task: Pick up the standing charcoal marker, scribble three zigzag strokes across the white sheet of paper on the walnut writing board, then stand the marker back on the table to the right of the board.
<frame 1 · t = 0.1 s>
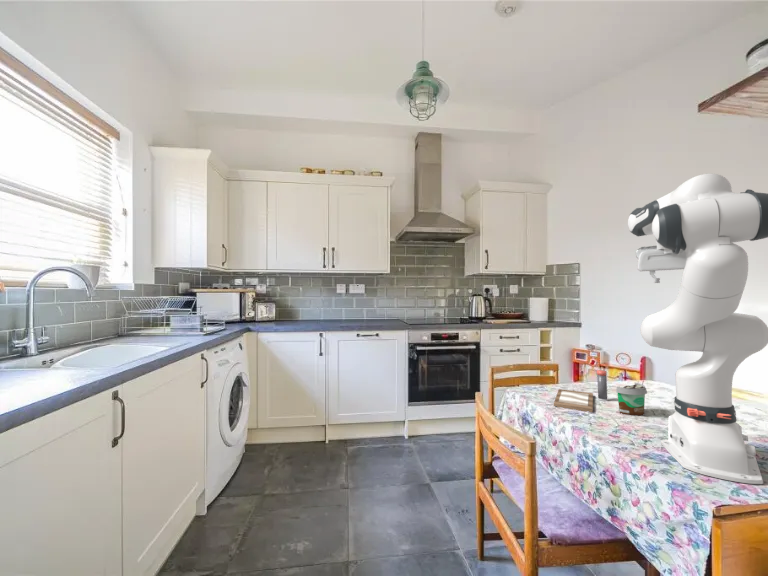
hand: (673, 282, 116), 48 cm above the table, tool pointing down, fingers open, 8 cm apart
food container: (636, 414, 118), on the table
marker: (602, 399, 133), on the table
writing board: (574, 401, 133), on the table
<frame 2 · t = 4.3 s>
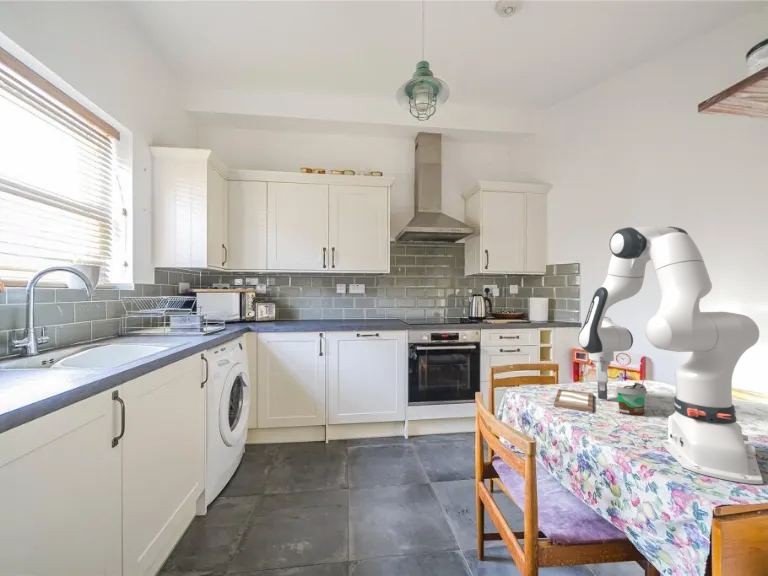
hand: (602, 388, 133), 5 cm above the table, tool pointing down, fingers closed on marker, 3 cm apart
marker: (602, 399, 133), on the table, touching gripper
everything else where it was.
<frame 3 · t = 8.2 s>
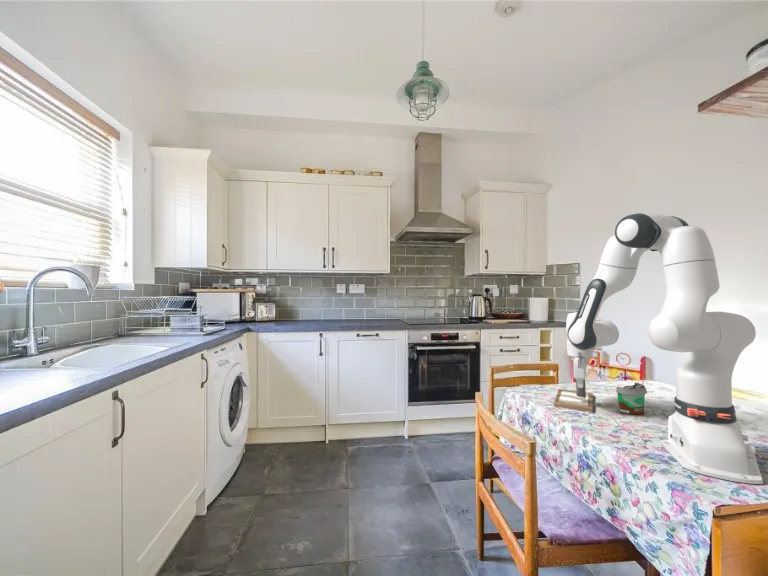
hand: (580, 385, 128), 8 cm above the table, tool pointing down, fingers closed on marker, 3 cm apart
marker: (581, 397, 128), point 3 cm above the table, touching gripper
everything else where it was.
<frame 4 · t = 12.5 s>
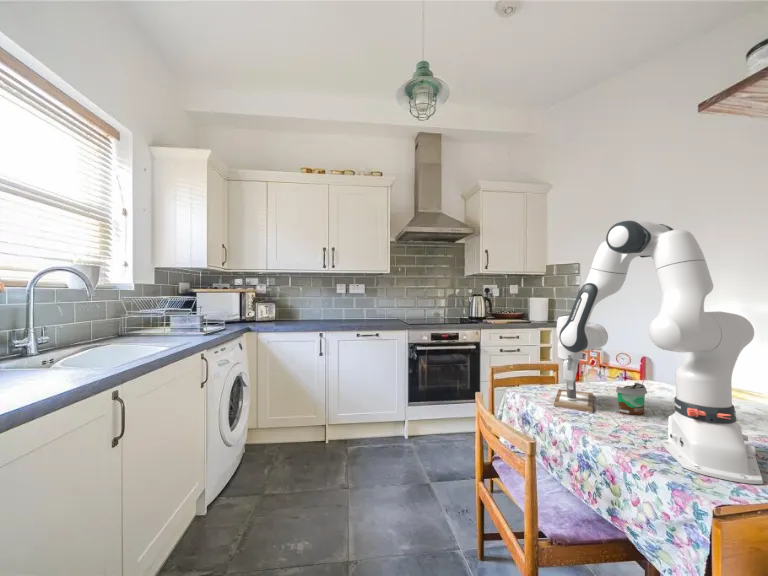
hand: (571, 387, 130), 6 cm above the table, tool pointing down, fingers closed on marker, 3 cm apart
marker: (571, 399, 130), point 2 cm above the table, touching gripper
everything else where it was.
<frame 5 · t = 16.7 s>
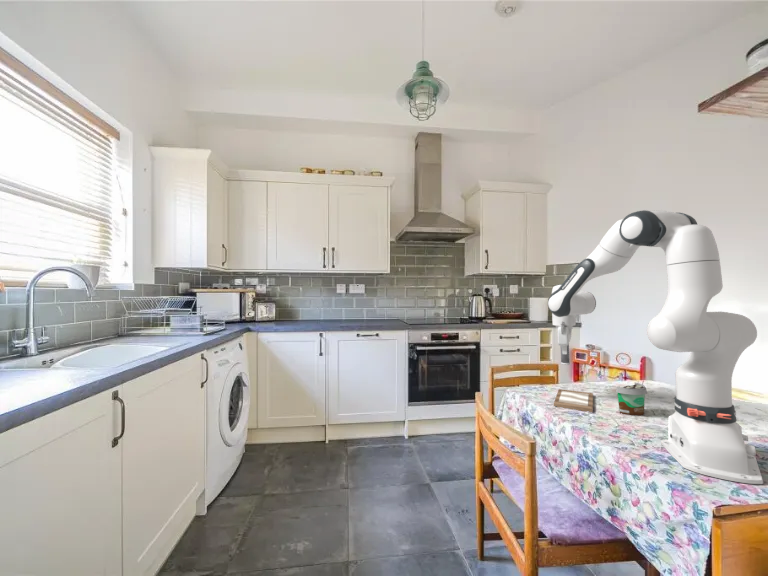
hand: (565, 353, 138), 19 cm above the table, tool pointing down, fingers closed on marker, 3 cm apart
marker: (565, 363, 138), point 14 cm above the table, touching gripper
everything else where it was.
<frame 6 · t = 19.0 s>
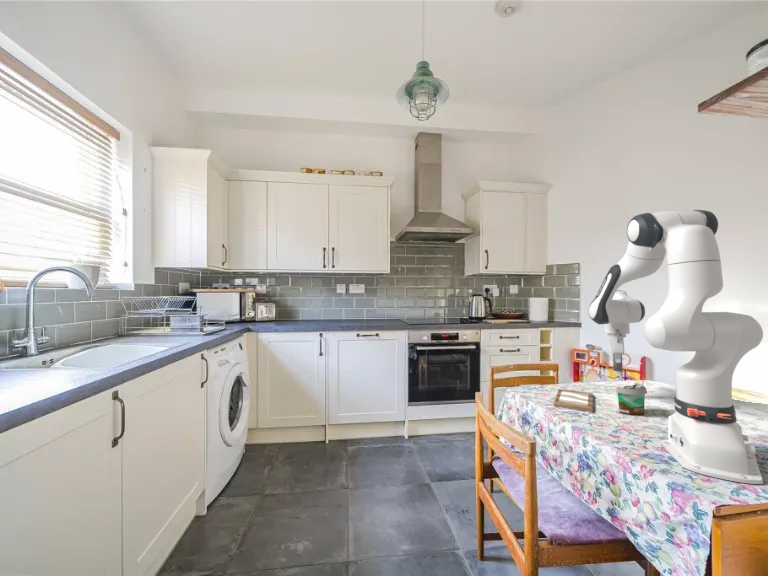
hand: (617, 361, 135), 15 cm above the table, tool pointing down, fingers closed on marker, 3 cm apart
marker: (618, 372, 135), point 11 cm above the table, touching gripper
everything else where it was.
when the fingers open (6 cm above the table, at t = 20.9 s): marker stays where it is, on the table.
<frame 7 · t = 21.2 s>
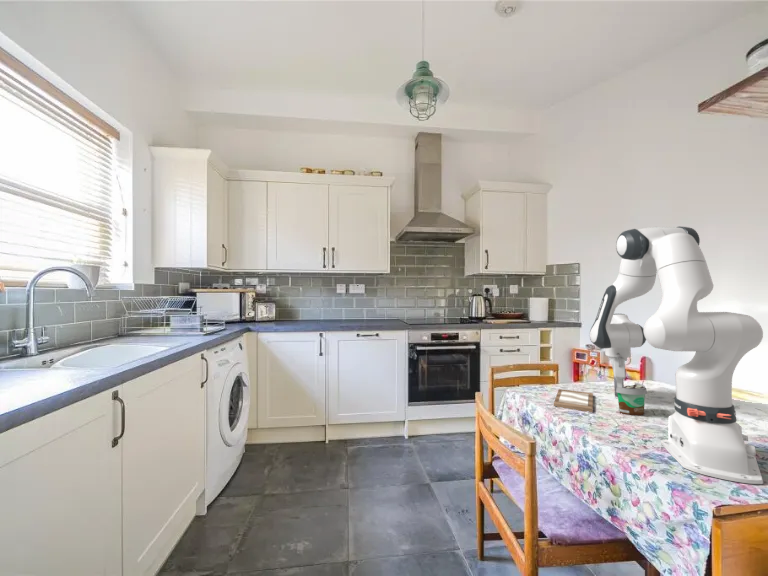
hand: (619, 384, 135), 6 cm above the table, tool pointing down, fingers open, 6 cm apart
marker: (619, 397, 135), on the table
everything else where it was.
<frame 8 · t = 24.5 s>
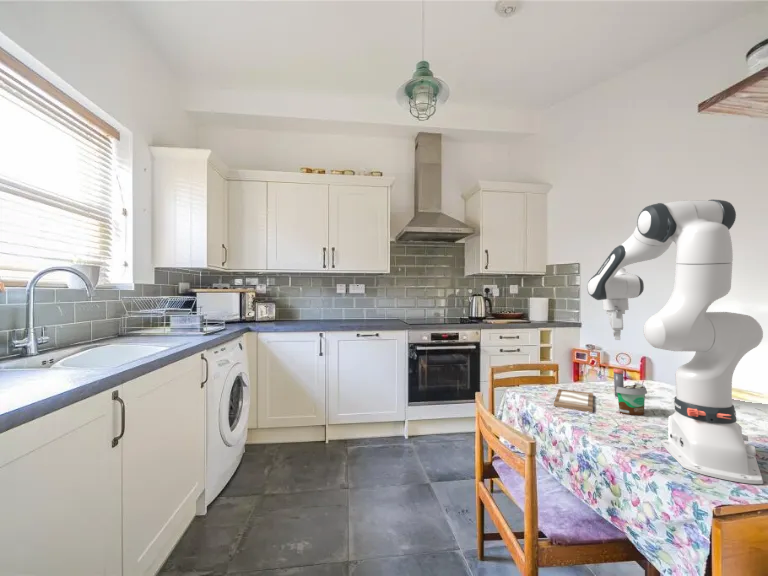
hand: (616, 338, 135), 25 cm above the table, tool pointing down, fingers open, 8 cm apart
nothing on the table moved.
at the end: marker inside the target area (0.1 cm from its centre), on the table; marker tilted 0°; the gripper is holding nothing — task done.
